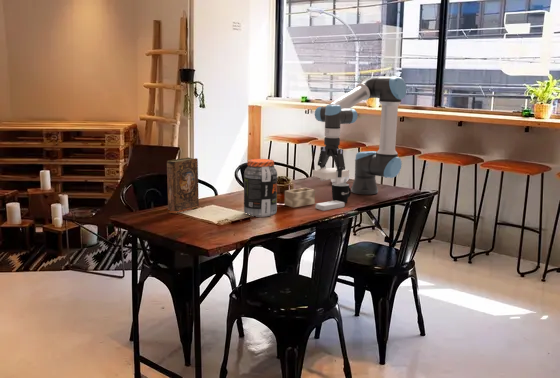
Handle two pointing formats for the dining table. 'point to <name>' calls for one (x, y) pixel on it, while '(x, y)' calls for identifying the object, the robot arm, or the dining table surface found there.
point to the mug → (341, 192)
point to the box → (299, 197)
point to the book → (182, 183)
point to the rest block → (329, 205)
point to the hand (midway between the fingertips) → (330, 182)
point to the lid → (329, 173)
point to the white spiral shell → (343, 179)
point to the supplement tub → (260, 188)
